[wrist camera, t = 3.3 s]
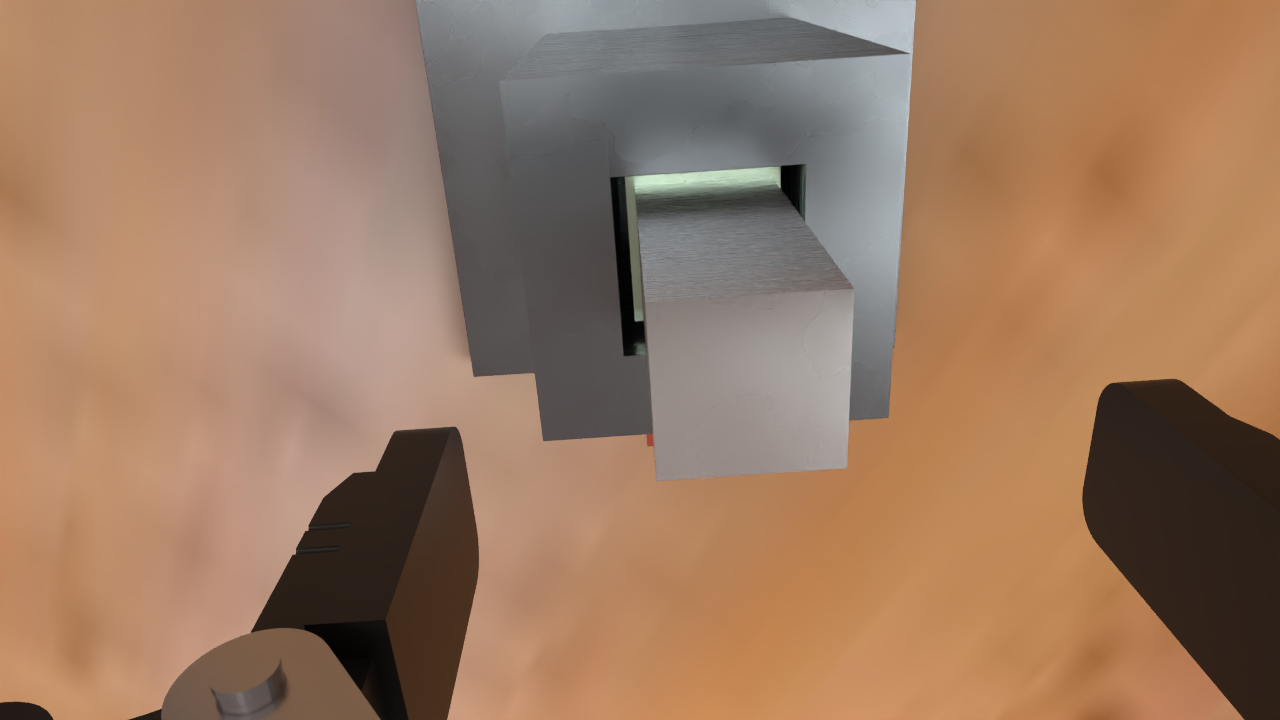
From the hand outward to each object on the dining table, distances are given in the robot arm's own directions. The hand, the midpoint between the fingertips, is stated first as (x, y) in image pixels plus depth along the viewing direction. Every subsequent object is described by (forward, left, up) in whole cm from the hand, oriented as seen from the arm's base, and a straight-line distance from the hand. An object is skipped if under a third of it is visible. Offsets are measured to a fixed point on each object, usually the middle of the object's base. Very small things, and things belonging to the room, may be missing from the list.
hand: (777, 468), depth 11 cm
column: (0, 0, -20) cm, 20 cm away
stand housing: (0, 0, -22) cm, 22 cm away
